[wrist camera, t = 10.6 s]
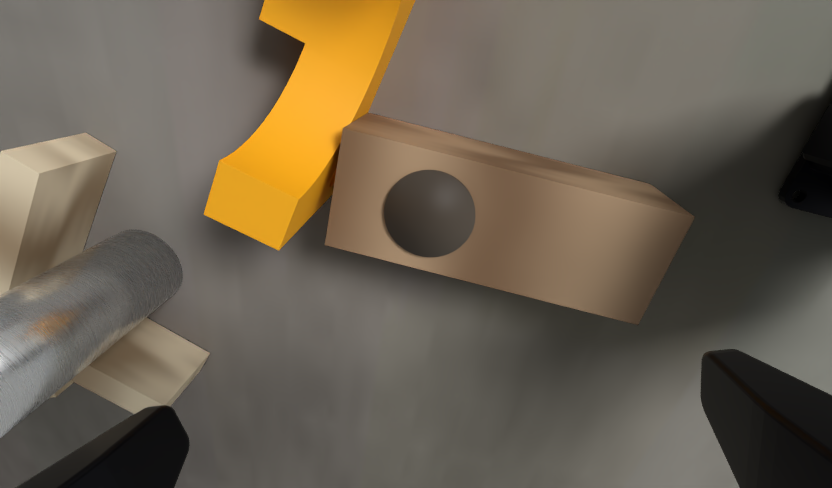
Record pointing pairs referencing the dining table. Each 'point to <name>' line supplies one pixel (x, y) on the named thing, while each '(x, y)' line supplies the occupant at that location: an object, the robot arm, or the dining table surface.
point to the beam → (502, 218)
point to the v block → (65, 238)
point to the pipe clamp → (307, 115)
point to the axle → (77, 316)
